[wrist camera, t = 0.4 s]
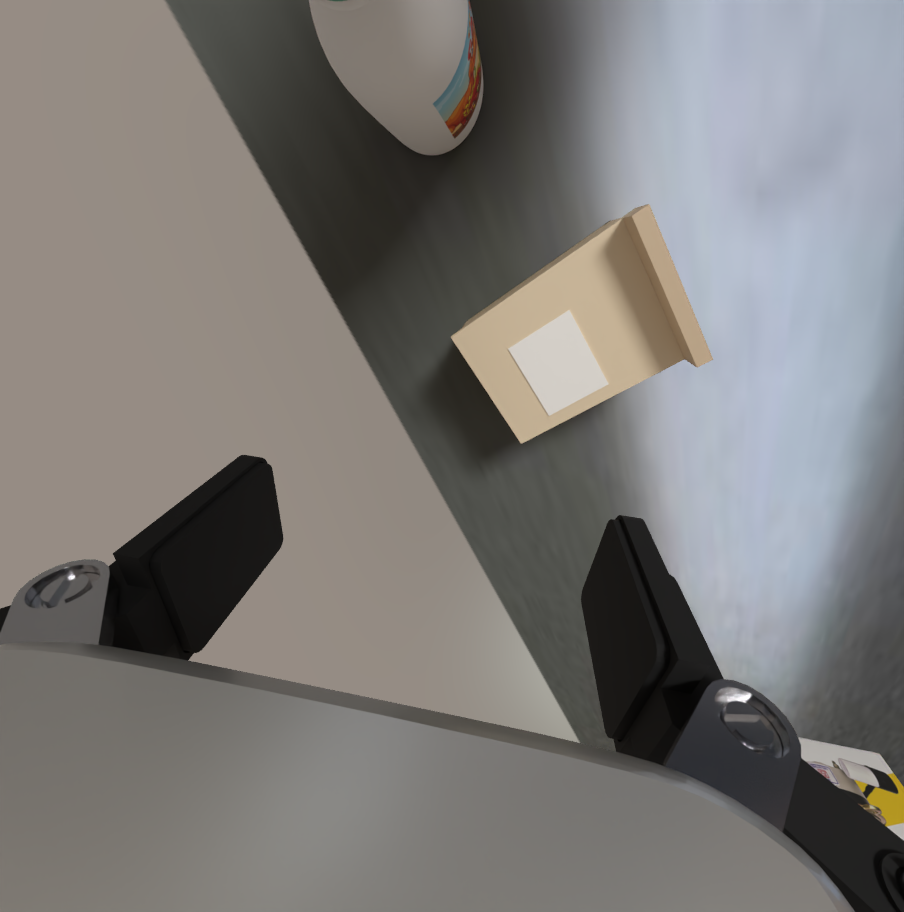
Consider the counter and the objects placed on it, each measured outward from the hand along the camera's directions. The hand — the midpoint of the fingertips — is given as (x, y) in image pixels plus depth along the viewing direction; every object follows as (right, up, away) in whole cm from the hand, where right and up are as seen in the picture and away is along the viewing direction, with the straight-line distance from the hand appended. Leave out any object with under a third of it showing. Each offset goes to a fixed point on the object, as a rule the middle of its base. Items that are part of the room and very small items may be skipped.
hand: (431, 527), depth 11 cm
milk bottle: (-1, +29, +18) cm, 35 cm away
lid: (+9, +11, +18) cm, 23 cm away
